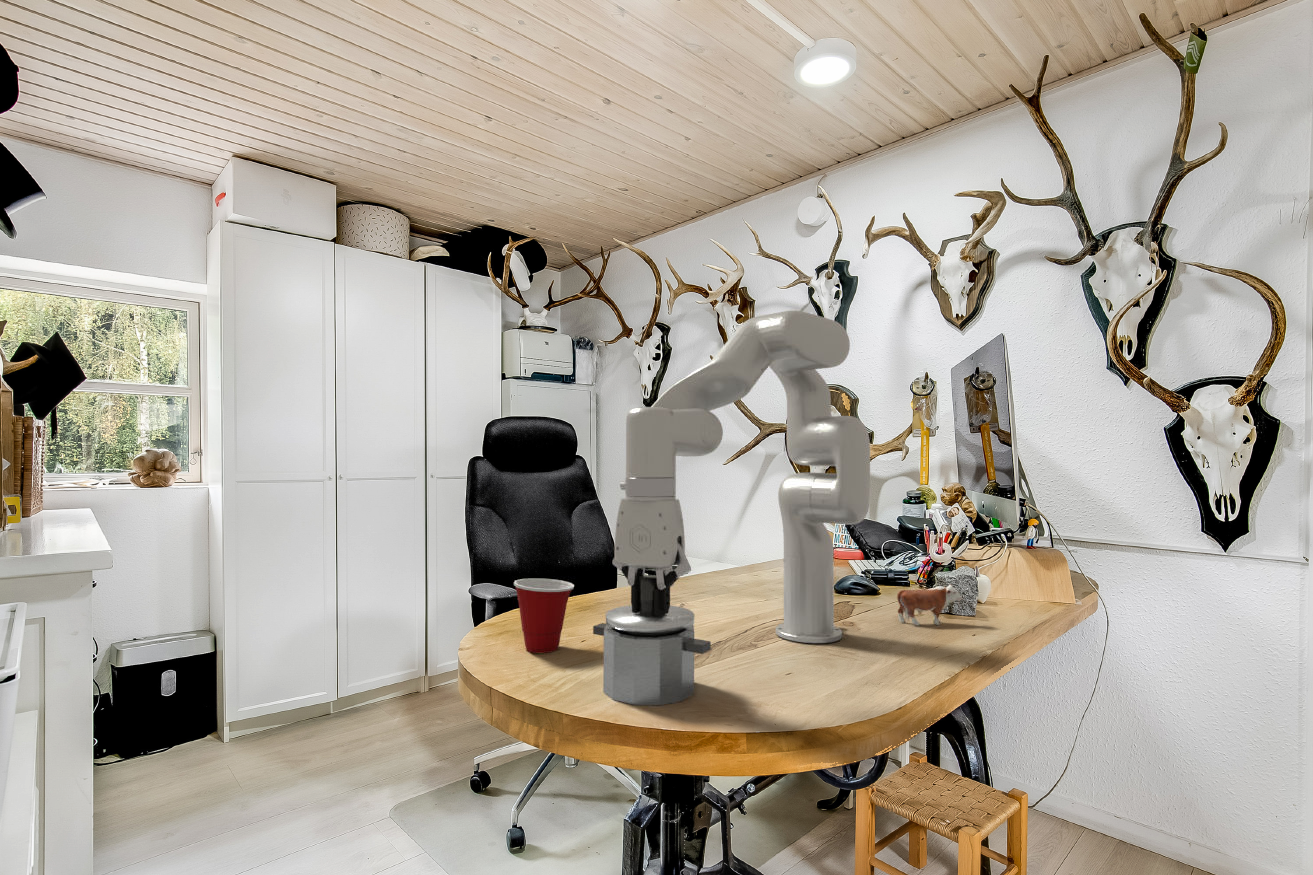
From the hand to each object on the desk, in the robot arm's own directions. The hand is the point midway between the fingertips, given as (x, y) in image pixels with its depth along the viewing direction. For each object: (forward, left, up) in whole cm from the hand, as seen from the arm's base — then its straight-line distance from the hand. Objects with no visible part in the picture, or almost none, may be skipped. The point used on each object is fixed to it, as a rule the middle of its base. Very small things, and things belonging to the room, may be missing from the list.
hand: (650, 611), depth 97 cm
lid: (0, 0, -2) cm, 2 cm away
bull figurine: (-65, +28, -12) cm, 72 cm away
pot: (0, 0, -11) cm, 11 cm away
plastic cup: (-7, -27, -12) cm, 30 cm away
